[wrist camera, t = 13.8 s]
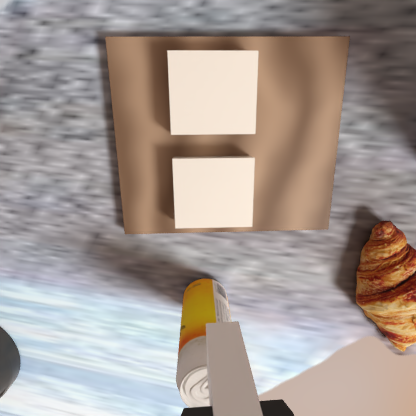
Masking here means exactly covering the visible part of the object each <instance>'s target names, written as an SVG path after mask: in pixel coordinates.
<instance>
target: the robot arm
mask: <svg viewBox="0 0 416 416" xmlns="http://www.w3.org/2000/svg"><path fill="white" fill-rule="evenodd" d="M206 345H207V376H208V389H209V402H210V406H204V407H192V408H184V409H183V412H182V414H181V416H294V414H293V412H292V411H291V410H290V408H289V407H288V406H287V405H286V403H285V402H284V401H283V400H270V401H259V399H258V395H257V391H256V387H255V383H254V379H253V376H252V372H251V368H250V364H249V360H248V356H247V353H246V349H245V345H244V341H243V337H242V334H241V330H240V326H239V322H238V321H237V322H221V323H206ZM19 370H20V355H19V352H18V349H17V347H16V345H15V343H14V341H13V340H12V339H11V337H10V336H9V335H8V334H7V333H6V332H5V331H4V330H3V329H2V328H0V398H1V397H2V396H3V395H4V394H5V393H6V391H7V390H8V389H9V387H10V386H11V385H12V383H13V382H14V381H15V379H16V377H17V376H18V373H19Z"/></svg>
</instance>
